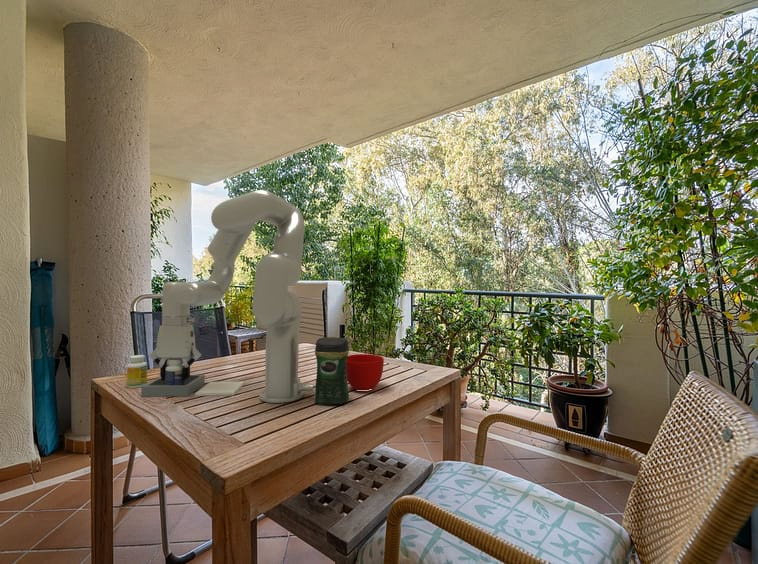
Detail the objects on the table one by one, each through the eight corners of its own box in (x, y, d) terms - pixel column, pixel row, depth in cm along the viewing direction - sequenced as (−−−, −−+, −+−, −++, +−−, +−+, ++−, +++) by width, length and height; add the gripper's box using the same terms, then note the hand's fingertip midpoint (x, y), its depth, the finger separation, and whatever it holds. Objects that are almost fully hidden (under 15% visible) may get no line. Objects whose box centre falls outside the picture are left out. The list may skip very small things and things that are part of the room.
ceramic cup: (381, 380, 127) (382, 352, 127) (384, 395, 110) (384, 362, 110) (345, 379, 127) (345, 351, 127) (342, 395, 110) (342, 362, 110)
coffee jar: (350, 398, 107) (351, 336, 107) (345, 407, 99) (346, 340, 99) (318, 396, 108) (320, 335, 108) (311, 405, 100) (312, 339, 100)
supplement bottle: (131, 383, 118) (131, 354, 118) (149, 383, 119) (150, 354, 119) (123, 388, 112) (123, 358, 112) (142, 387, 114) (143, 357, 114)
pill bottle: (175, 393, 109) (176, 361, 109) (160, 391, 110) (161, 360, 110) (188, 388, 114) (189, 357, 114) (174, 386, 115) (174, 356, 115)
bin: (204, 383, 119) (204, 374, 119) (187, 396, 106) (187, 386, 106) (163, 384, 118) (163, 375, 118) (141, 396, 105) (141, 386, 105)
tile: (244, 383, 120) (244, 381, 120) (233, 395, 108) (233, 392, 108) (210, 384, 119) (210, 381, 119) (195, 395, 107) (195, 393, 107)
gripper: (209, 320, 116) (208, 375, 116) (153, 319, 115) (152, 376, 115) (199, 322, 109) (198, 382, 109) (140, 322, 107) (139, 383, 107)
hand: (175, 378), depth 112 cm, fingers closed on pill bottle, 5 cm apart
